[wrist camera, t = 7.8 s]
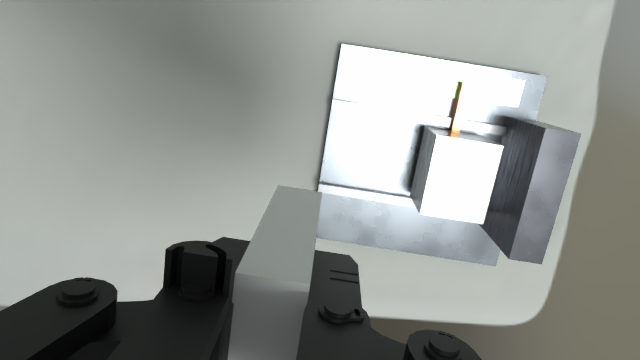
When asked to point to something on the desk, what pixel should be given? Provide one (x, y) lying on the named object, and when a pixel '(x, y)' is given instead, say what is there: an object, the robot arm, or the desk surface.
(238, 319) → the robot arm
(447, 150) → the block
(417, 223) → the bench
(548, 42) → the desk surface
